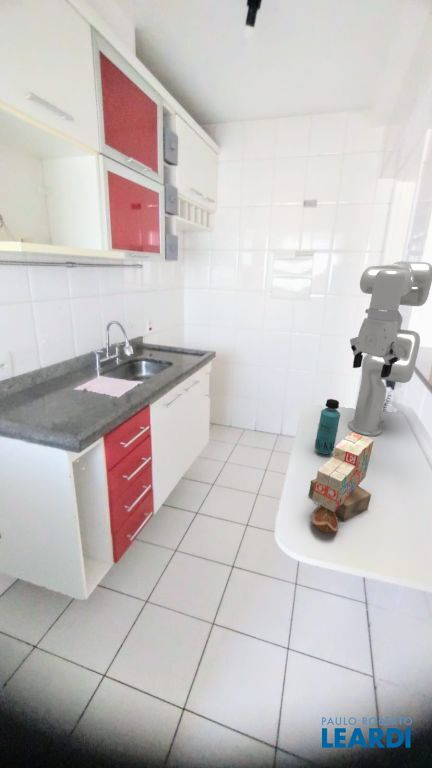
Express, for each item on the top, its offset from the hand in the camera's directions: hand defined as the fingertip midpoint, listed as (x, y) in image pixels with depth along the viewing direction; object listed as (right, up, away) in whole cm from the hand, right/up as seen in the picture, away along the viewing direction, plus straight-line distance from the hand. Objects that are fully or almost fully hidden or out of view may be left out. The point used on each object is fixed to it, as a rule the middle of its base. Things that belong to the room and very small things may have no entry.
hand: (370, 372), depth 104 cm
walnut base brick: (-13, -37, -9) cm, 40 cm away
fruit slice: (-20, -40, -18) cm, 48 cm away
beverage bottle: (-9, -28, +16) cm, 33 cm away
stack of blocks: (-13, -32, -11) cm, 36 cm away
